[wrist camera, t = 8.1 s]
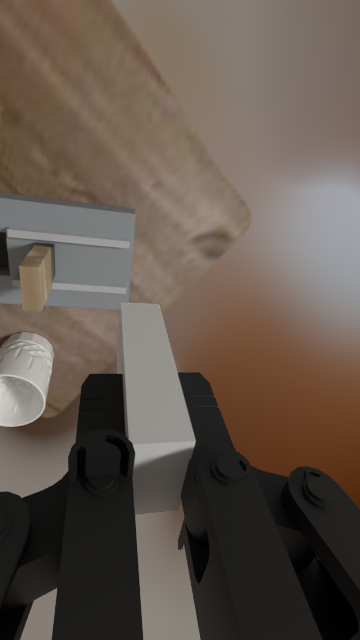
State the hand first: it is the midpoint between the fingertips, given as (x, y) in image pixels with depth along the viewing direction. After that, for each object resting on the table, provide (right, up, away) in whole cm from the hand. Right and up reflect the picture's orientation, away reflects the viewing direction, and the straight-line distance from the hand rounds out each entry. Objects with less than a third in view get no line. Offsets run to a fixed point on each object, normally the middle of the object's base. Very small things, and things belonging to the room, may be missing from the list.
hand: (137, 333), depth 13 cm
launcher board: (-14, +9, +26) cm, 31 cm away
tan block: (-13, +7, +23) cm, 28 cm away
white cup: (-19, -4, +33) cm, 38 cm away
